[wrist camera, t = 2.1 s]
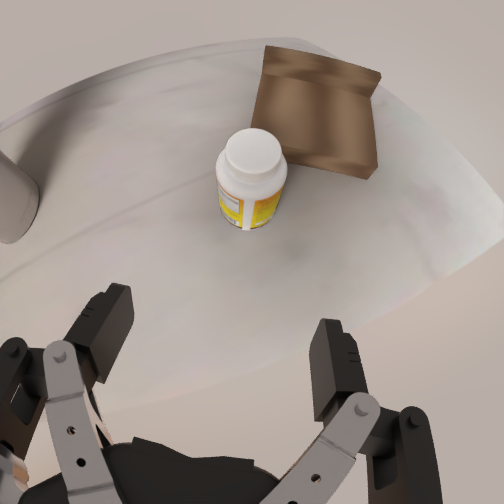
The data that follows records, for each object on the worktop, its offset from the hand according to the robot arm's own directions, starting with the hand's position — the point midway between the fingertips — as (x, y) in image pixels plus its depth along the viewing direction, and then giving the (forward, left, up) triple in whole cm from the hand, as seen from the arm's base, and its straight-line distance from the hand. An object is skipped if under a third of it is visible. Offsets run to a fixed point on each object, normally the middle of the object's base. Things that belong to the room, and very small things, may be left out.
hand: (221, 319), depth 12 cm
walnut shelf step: (+6, +24, -15) cm, 29 cm away
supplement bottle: (0, +12, -15) cm, 19 cm away
